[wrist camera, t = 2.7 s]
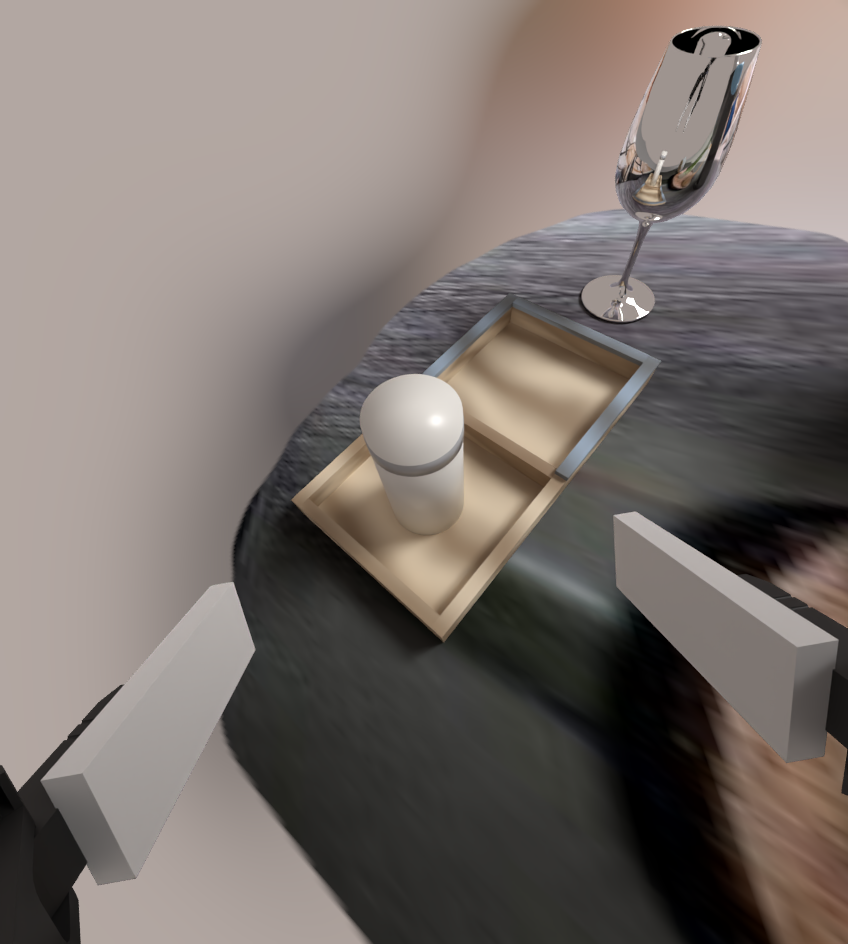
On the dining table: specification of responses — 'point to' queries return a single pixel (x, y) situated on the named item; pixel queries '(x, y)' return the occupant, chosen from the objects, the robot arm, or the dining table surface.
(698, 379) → the dining table surface
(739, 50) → the wineglass
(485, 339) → the bay tray
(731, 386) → the dining table surface
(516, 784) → the dining table surface
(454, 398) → the domed white canister
